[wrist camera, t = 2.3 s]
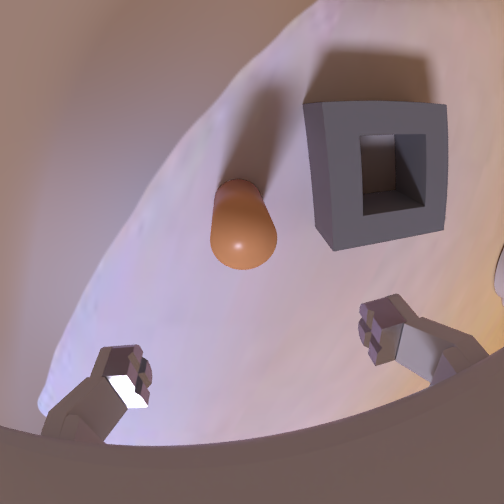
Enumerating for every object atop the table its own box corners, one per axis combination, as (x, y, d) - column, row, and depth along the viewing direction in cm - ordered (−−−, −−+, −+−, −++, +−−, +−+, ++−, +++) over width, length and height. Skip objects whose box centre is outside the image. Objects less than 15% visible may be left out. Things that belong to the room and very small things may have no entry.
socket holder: (413, 102, 22) (446, 104, 17) (414, 211, 27) (443, 230, 22) (302, 104, 22) (321, 102, 17) (315, 227, 27) (333, 251, 22)
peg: (257, 175, 24) (272, 203, 17) (264, 219, 26) (280, 263, 19) (210, 183, 24) (203, 215, 17) (219, 227, 26) (217, 274, 19)
